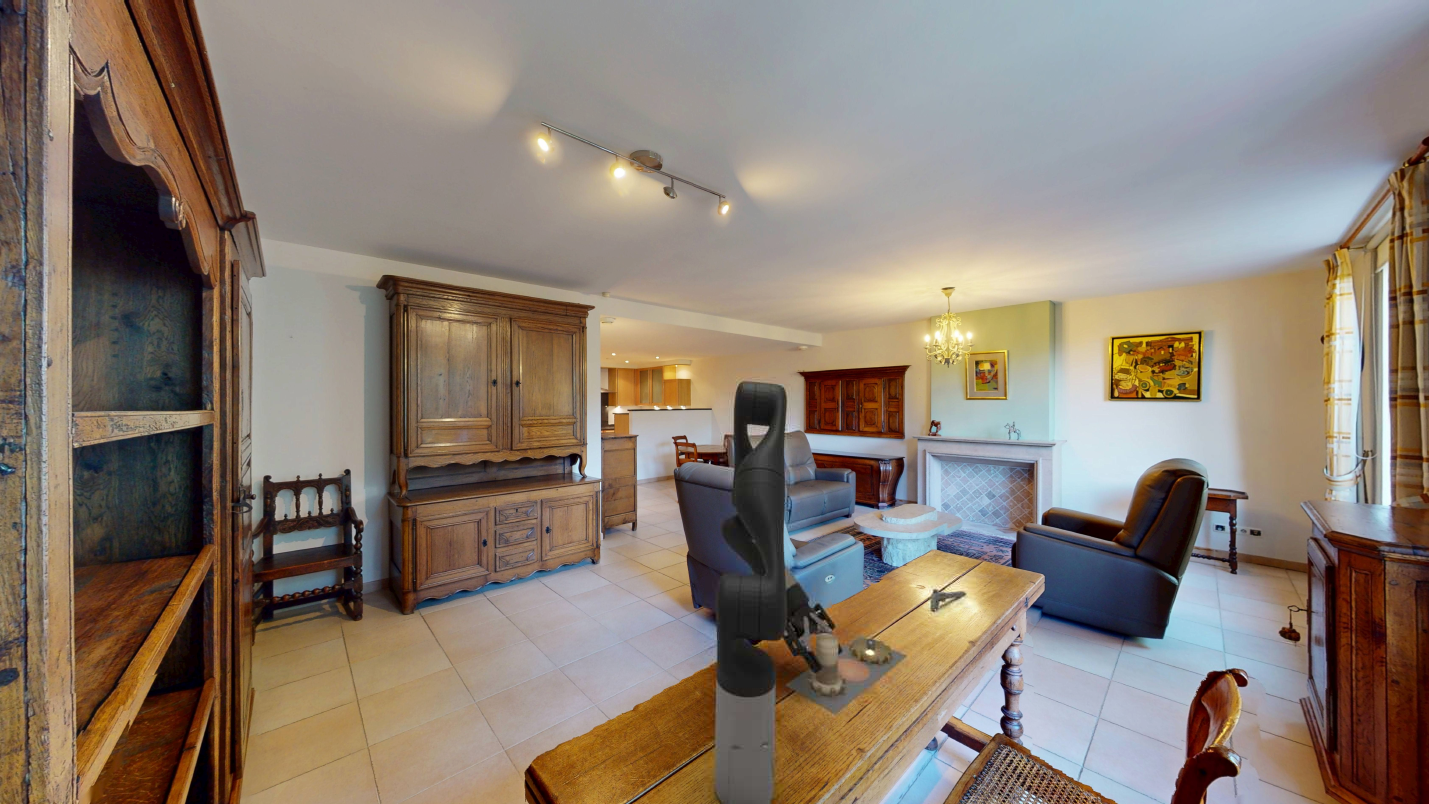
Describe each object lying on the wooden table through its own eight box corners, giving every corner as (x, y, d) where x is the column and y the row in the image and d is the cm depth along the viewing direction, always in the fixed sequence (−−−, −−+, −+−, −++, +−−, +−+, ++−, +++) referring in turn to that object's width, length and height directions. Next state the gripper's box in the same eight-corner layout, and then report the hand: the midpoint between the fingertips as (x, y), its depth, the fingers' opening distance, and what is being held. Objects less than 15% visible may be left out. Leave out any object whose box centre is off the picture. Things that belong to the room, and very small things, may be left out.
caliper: (933, 613, 135) (934, 591, 135) (930, 611, 136) (930, 590, 136) (966, 595, 148) (967, 575, 148) (963, 594, 149) (963, 574, 148)
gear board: (835, 722, 89) (835, 714, 89) (784, 692, 98) (785, 684, 98) (907, 662, 109) (907, 655, 109) (860, 641, 118) (860, 635, 118)
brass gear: (900, 664, 106) (900, 651, 106) (860, 667, 104) (860, 653, 104) (879, 642, 115) (880, 630, 115) (843, 644, 114) (843, 632, 114)
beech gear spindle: (852, 697, 94) (853, 647, 94) (814, 700, 93) (815, 649, 93) (836, 674, 102) (837, 628, 102) (802, 676, 101) (802, 630, 100)
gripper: (775, 592, 97) (824, 669, 90) (810, 573, 108) (857, 641, 100) (754, 609, 101) (799, 685, 93) (790, 589, 111) (834, 656, 104)
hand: (829, 662), depth 97 cm, fingers open, 8 cm apart
